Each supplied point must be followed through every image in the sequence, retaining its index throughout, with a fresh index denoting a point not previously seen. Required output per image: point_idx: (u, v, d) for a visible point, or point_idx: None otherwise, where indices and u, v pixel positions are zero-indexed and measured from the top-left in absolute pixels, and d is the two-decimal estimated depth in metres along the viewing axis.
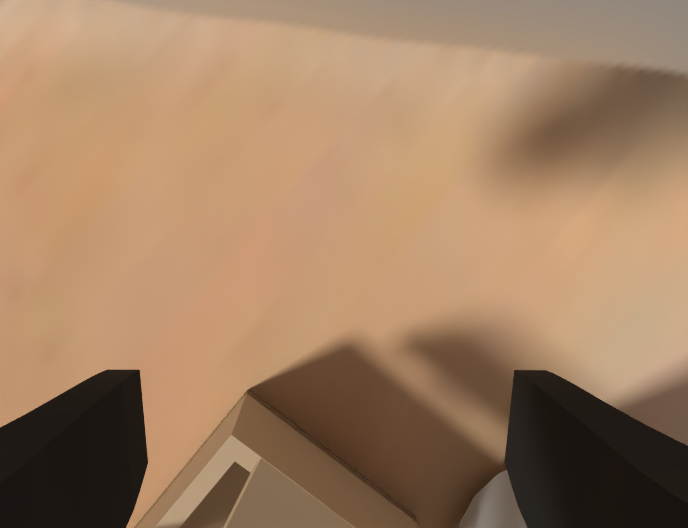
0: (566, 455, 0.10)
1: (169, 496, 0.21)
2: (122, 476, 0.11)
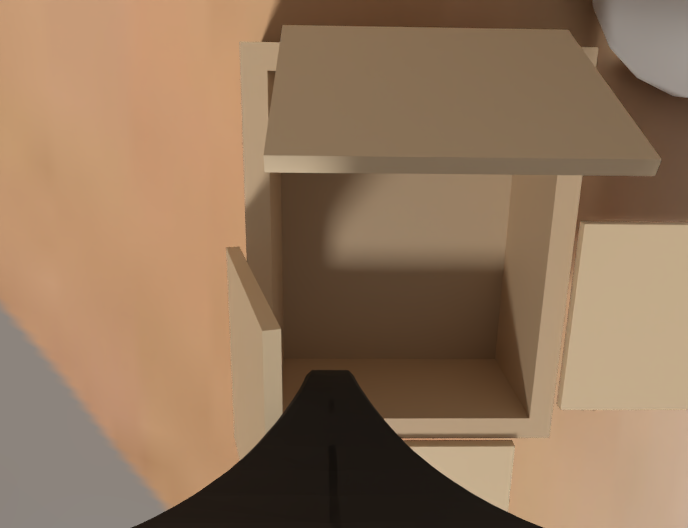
0: None
1: None
2: None
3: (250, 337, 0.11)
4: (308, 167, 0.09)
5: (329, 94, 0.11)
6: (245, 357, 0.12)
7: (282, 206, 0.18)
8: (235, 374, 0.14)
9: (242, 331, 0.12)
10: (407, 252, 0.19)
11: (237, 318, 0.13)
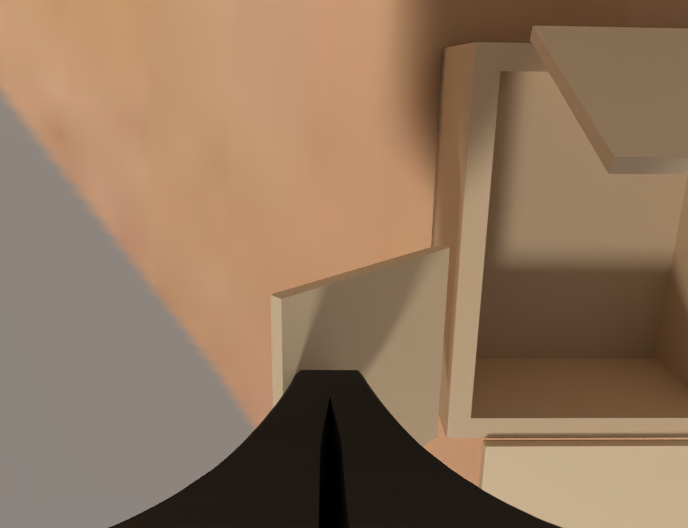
0: (334, 456, 0.09)
1: (447, 198, 0.17)
2: None
3: None
4: (653, 169, 0.09)
5: (632, 95, 0.11)
6: None
7: None
8: None
9: None
10: (577, 252, 0.19)
11: None
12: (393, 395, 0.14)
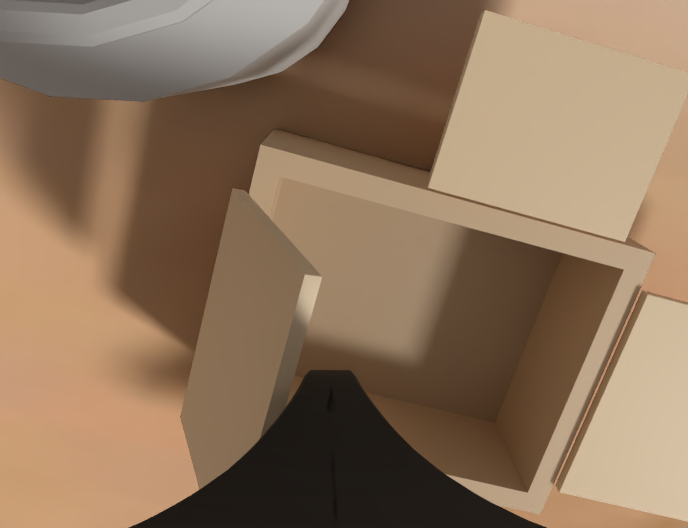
0: None
1: None
2: None
3: None
4: None
5: (212, 462, 0.13)
6: None
7: None
8: None
9: None
10: (429, 293, 0.19)
11: None
12: None
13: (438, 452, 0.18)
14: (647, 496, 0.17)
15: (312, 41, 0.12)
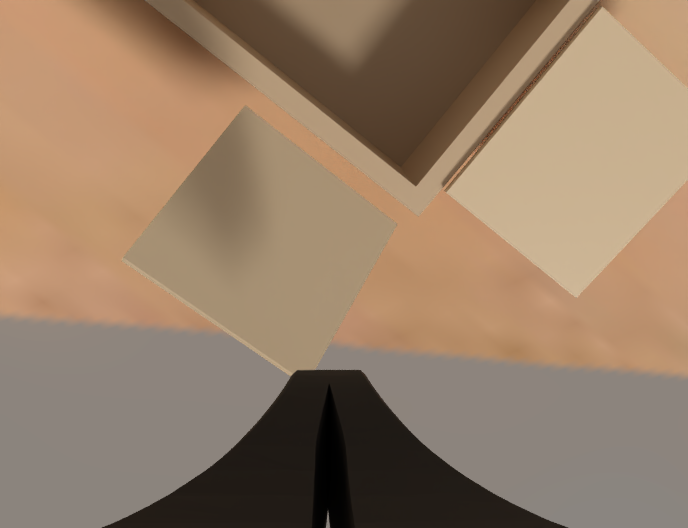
0: (337, 456, 0.09)
1: None
2: (327, 475, 0.11)
3: None
4: None
5: None
6: None
7: (280, 69, 0.20)
8: None
9: None
10: None
11: None
12: (310, 232, 0.16)
13: (344, 127, 0.18)
14: (523, 232, 0.17)
15: None
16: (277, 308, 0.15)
